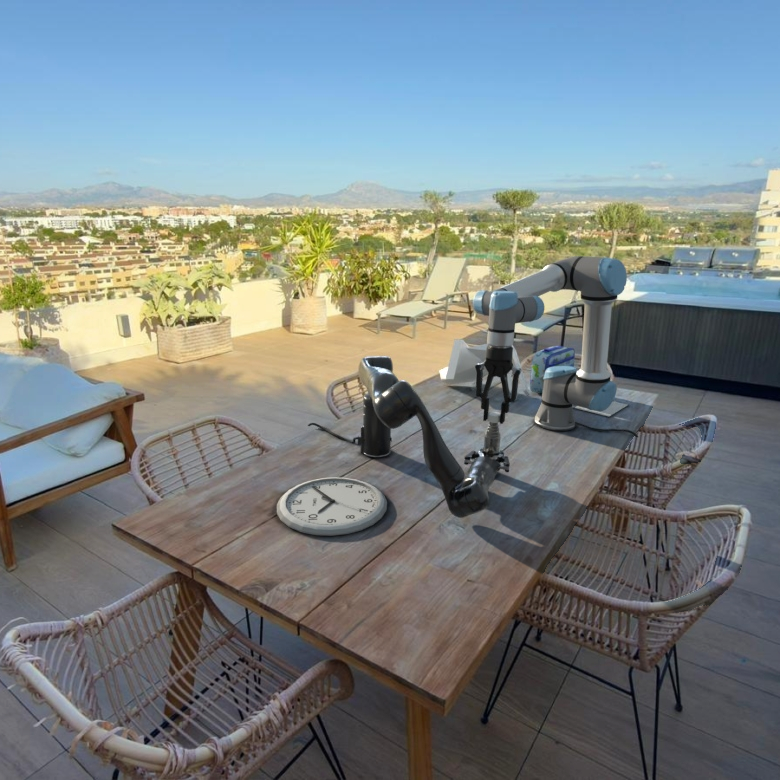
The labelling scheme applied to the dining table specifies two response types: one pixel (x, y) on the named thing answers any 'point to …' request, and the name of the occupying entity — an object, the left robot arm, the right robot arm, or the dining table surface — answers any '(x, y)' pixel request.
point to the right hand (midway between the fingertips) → (493, 420)
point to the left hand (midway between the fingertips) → (492, 451)
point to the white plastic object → (473, 365)
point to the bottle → (492, 440)
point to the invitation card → (609, 411)
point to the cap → (494, 417)
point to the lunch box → (549, 364)
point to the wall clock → (331, 506)
